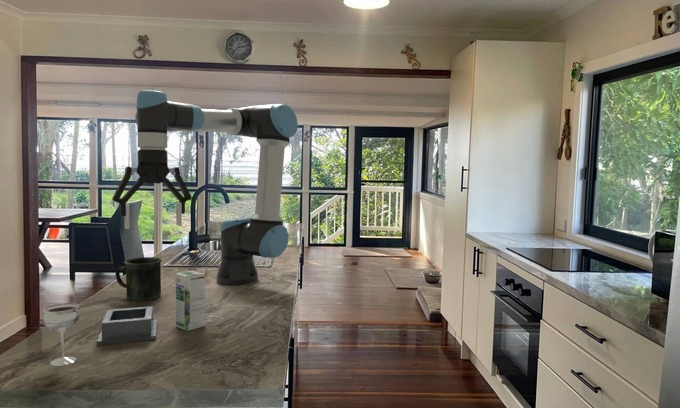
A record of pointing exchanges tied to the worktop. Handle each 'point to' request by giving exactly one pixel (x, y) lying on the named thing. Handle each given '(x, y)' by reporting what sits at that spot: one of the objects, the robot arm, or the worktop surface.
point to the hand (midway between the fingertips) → (153, 227)
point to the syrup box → (190, 300)
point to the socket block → (128, 326)
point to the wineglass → (61, 325)
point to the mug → (141, 278)
